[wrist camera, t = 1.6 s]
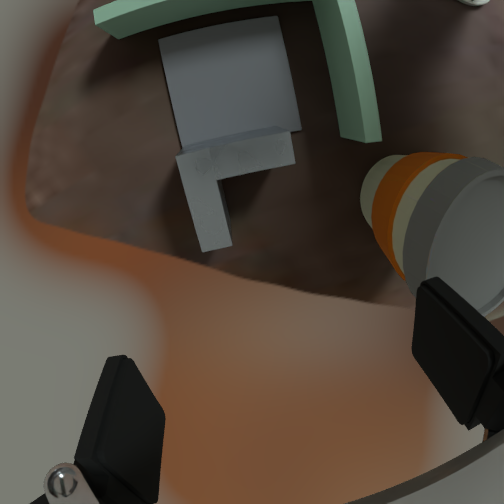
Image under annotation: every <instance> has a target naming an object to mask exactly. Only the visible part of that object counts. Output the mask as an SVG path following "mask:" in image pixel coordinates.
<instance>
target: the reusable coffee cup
mask: <svg viewBox="0 0 504 504" xmlns="http://www.w3.org/2000/svg"><path fill="white" fill-rule="evenodd" d="M360 203H361V209H362V213H363V216H364V217H365V219H366V221H367V222H368V224H369V225H370V227H371V228H372V229H373V232H374V236H375V239H376V241H377V242H378V244H379V246H380V248H381V249H382V251H383V252H384V254H385V255H386V257H387V258H388V260H389V261H390V263H391V264H392V266H393V267H394V269H395V270H396V272H397V273H398V274H399V275H400V276H401V278H402V279H403V280H405V281H406V283H407V285H408V287H409V289H410V291H411V293H412V294H413V295H414V296H415V297H416V293H417V288H418V287H420V284H421V282H422V281H424V280H427V279H430V278H433V277H439V278H441V279H442V280H443V281H444V282H445V283H446V284H448V285H449V286H450V287H451V288H452V289H453V290H455V291H456V292H457V293H458V294H459V295H460V296H461V297H463V298H464V299H465V300H466V301H467V302H468V303H469V304H470V305H471V306H473V307H474V308H475V309H476V310H477V311H478V312H479V313H480V314H481V315H482V316H483V317H484V316H486V315H487V314H489V313H490V312H491V311H493V310H494V309H495V308H496V307H497V306H499V305H500V304H501V303H502V302H503V301H504V168H503V167H501V166H499V165H497V164H495V163H493V162H491V161H489V160H487V159H485V158H478V157H470V158H467V157H465V156H462V155H459V154H450V153H435V152H418V153H412V154H410V155H392V156H388V157H385V158H383V159H381V160H380V161H378V162H377V163H376V164H375V165H374V166H373V167H372V168H371V169H370V170H369V172H368V173H367V175H366V177H365V179H364V181H363V184H362V188H361V193H360Z"/></svg>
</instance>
